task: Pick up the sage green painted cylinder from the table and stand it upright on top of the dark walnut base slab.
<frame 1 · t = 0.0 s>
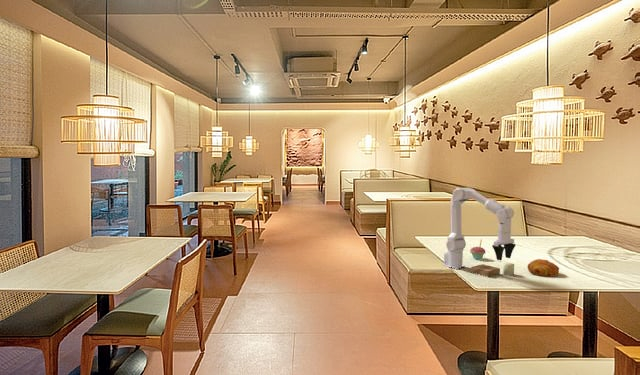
hand: (503, 258, 206), 10 cm above the table, tool pointing down, fingers open, 7 cm apart
sage cylinder: (508, 274, 215), on the table
walnut base: (485, 273, 217), on the table
cupcake: (477, 259, 248), on the table
croissant: (543, 273, 217), on the table
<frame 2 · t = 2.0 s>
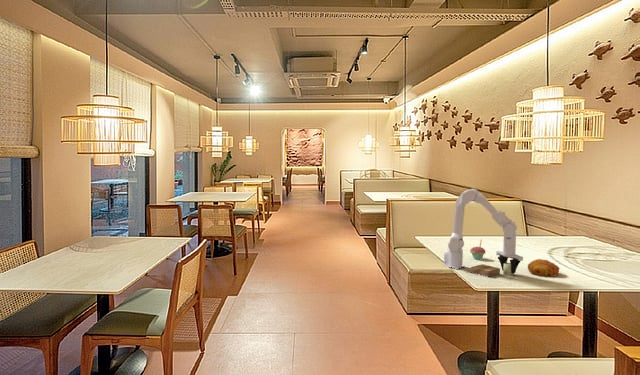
hand: (508, 271, 215), 1 cm above the table, tool pointing down, fingers closed on sage cylinder, 5 cm apart
sage cylinder: (508, 274, 215), on the table, touching gripper
everything else where it was.
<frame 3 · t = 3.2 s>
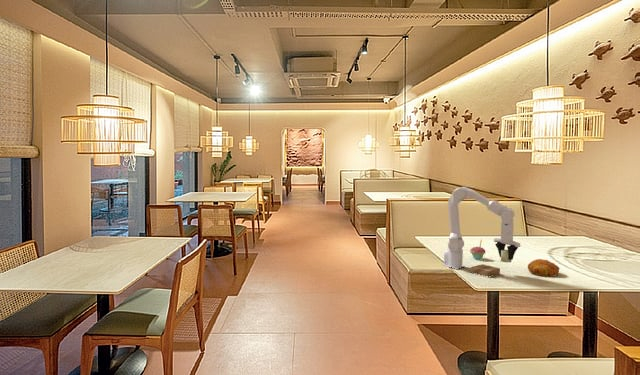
hand: (506, 258, 214), 8 cm above the table, tool pointing down, fingers closed on sage cylinder, 5 cm apart
sage cylinder: (506, 261, 215), point 7 cm above the table, touching gripper
everything else where it was.
when the fingers open (5 cm above the table, at t = 4.8 s): sage cylinder stays where it is, resting on walnut base.
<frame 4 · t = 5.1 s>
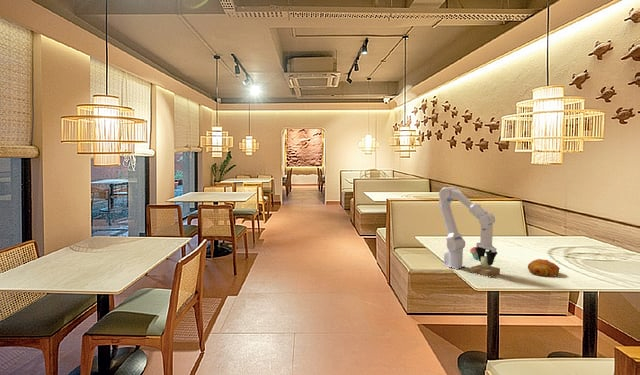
hand: (485, 263, 216), 5 cm above the table, tool pointing down, fingers open, 7 cm apart
sage cylinder: (485, 267, 217), point 3 cm above the table, touching walnut base
everything else where it was.
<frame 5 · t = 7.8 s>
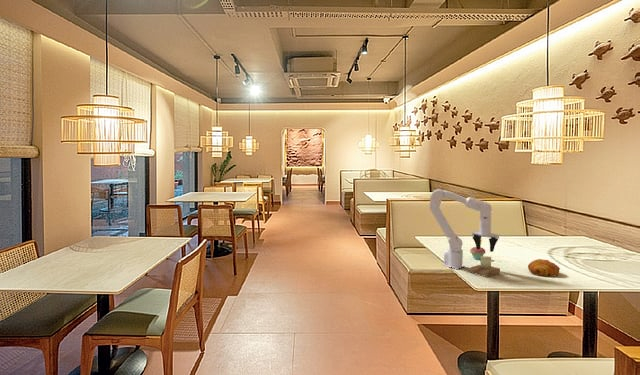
hand: (485, 250, 223), 10 cm above the table, tool pointing down, fingers open, 7 cm apart
nothing on the table moved.
at the end: sage cylinder 0.1 cm off-centre on the walnut base, point 3.0 cm above the walnut base's base; sage cylinder tilted 0°; the gripper is holding nothing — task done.
